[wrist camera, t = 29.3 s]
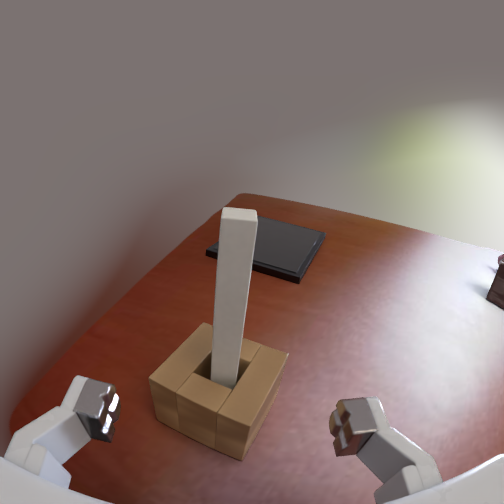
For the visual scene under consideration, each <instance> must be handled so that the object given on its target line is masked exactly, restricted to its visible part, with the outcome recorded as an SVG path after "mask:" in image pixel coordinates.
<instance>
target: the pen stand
mask: <svg viewBox="0 0 504 504" xmlns="http://www.w3.org/2000/svg"><path fill="white" fill-rule="evenodd" d="M212 339H213V326H211V325H209V324H207V323H202V324H201V325H200V326H199V327H198V329H197V330H196V331H195V332H194V333H193V334H192V335H191V336H190V337H189V338H188V339H187V340H186V341H185V342H184V343H183V344H182V345H181V346H180V347H179V348H178V349H177V350H176V351H175V352H174V353H173V354H172V355H171V356H170V357H169V358H168V359H167V360H166V361H165V362H164V363H163V364H162V365H161V366H160V367H159V368H158V369H157V370H156V371H155V372H154V373H153V374H152V375H151V376H150V377H149V383H150V388H151V393H152V398H153V403H154V408H155V412H156V417H157V420H158V421H160V422H162V423H164V424H165V425H167V426H169V427H171V428H173V429H174V430H176V431H178V432H181V433H182V434H184V435H186V436H188V437H190V438H192V439H194V440H196V441H198V442H200V443H202V444H204V445H206V446H208V447H210V448H212V449H215V450H217V451H219V452H221V453H224V454H226V455H228V456H231V457H233V458H235V459H238V460H240V461H242V460H243V458H244V457H245V455H246V453H247V451H248V450H249V448H250V446H251V444H252V442H253V440H254V439H255V437H256V435H257V433H258V431H259V429H260V427H261V425H262V424H263V422H264V420H265V418H266V416H267V414H268V412H269V410H270V408H271V406H272V404H273V402H274V400H275V398H276V396H277V392H278V389H279V386H280V382H281V379H282V375H283V372H284V369H285V365H286V361H287V358H288V354H287V353H284V352H281V351H278V350H276V349H273V348H270V347H267V346H264V345H262V346H261V344H258V343H256V342H253V341H250V340H248V339H245V338H242V344H241V351H240V359H239V366H238V373H237V381H236V386H235V387H234V389H233V390H232V389H229V388H227V387H225V386H222V385H220V384H218V383H215V382H213V381H211V359H212Z"/></svg>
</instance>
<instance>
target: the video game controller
mask: <svg viewBox="0 0 504 504" xmlns="http://www.w3.org/2000/svg"><path fill="white" fill-rule="evenodd" d="M503 257H504V254H503V255H501V256H499V257H498V264H499V265H500V263H501V261H502V259H503Z"/></svg>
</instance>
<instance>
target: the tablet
mask: <svg viewBox="0 0 504 504" xmlns="http://www.w3.org/2000/svg"><path fill="white" fill-rule="evenodd" d="M257 220H258V224H257V232H256V239H255V247H254V254H253V262H252V269H251V270H255V271H258V272H261V273H265V274H268V275H271V276H274V277H278V278H281V279H284V280H288V281H291V282H294V283H298V284H299V283H300V281H301V279H302V278H303V276H304V274H305V272H306V271H307V269H308V267H309V265H310V264H311V262H312V260H313V258H314V257H315V255H316V253H317V251H318V249H319V248H320V246H321V244H322V242H323V240H324V239H325V235H326V233H324V232H320V231H316V230H312V229H309V228H305V227H301V226H297V225H293V224H289V223H285V222H281V221H277V220H273V219H269V218H265V217H261V216H257ZM218 248H219V241H218V242H217V243H215V244H214V245H212V246H211V247H209V248H208V249H206V256H209V257H213V258H216V259H218Z"/></svg>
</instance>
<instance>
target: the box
mask: <svg viewBox="0 0 504 504" xmlns="http://www.w3.org/2000/svg"><path fill="white" fill-rule="evenodd" d="M486 299H488V300H490V301H491V302H493V303H495V304H496V305H498V306H500V307H501V308H503V309H504V257H503V259H502V261H501V263H500V265H499V268H498V271H497V273H496V276H495V278H494V281H493V283H492V285H491V288H490V290H489V292H488V295H487V298H486Z"/></svg>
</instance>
